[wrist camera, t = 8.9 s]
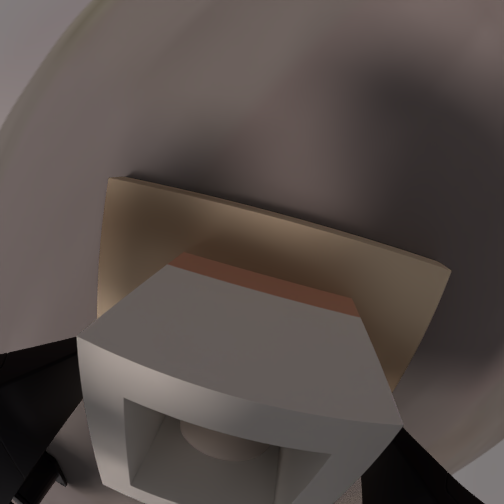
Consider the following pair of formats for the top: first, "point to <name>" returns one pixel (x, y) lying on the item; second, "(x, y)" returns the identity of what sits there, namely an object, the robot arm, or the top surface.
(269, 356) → the sleeve
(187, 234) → the pin board
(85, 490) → the top surface
